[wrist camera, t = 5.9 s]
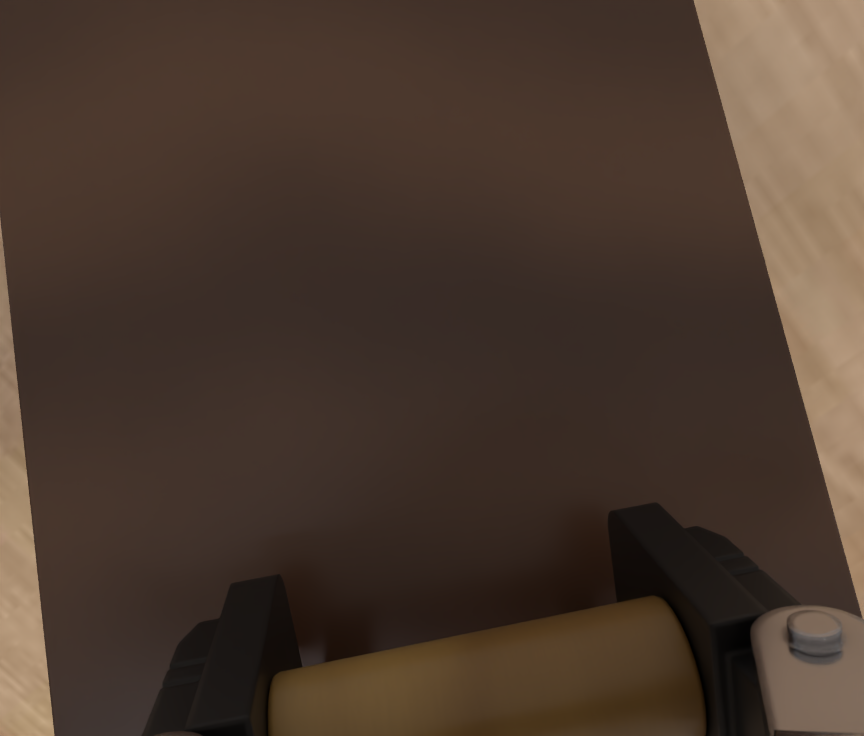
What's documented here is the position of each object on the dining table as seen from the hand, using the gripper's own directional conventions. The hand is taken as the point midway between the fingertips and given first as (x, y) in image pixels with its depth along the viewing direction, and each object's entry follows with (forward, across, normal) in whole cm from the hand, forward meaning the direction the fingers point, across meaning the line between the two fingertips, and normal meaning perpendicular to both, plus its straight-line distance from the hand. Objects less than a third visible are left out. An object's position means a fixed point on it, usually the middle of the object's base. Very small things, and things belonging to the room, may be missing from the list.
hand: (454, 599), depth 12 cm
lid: (+4, 0, -4) cm, 5 cm away
